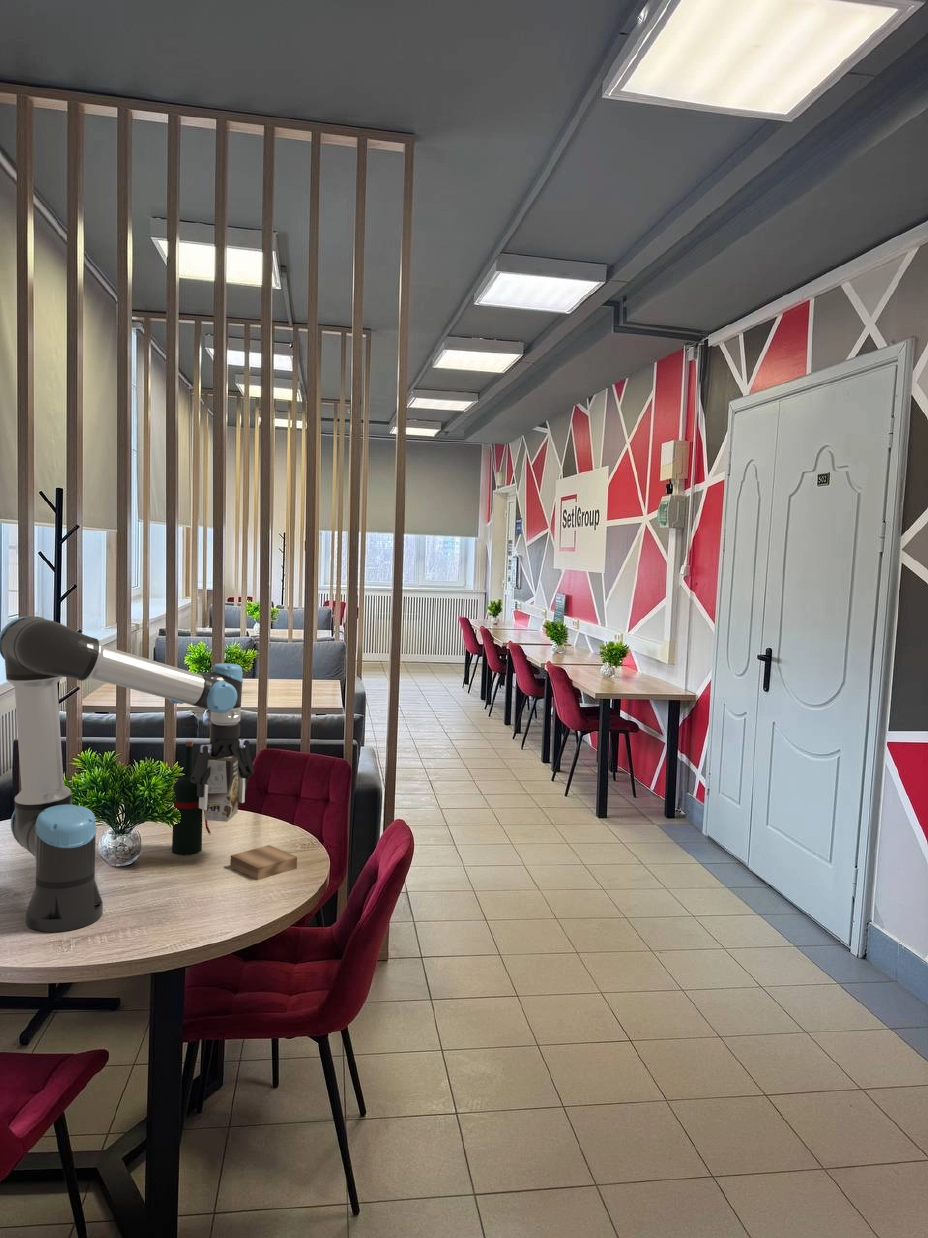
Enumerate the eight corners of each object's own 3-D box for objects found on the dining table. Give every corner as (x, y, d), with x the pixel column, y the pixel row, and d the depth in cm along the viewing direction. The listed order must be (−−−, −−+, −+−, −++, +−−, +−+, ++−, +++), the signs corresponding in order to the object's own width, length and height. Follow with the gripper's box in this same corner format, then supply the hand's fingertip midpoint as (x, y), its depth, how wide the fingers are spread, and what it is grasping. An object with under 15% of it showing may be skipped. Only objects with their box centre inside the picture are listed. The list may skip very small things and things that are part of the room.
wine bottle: (207, 856, 223) (209, 745, 221) (167, 855, 223) (170, 744, 221) (213, 846, 231) (216, 738, 229) (175, 845, 230) (178, 737, 228)
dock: (257, 880, 209) (258, 868, 209) (230, 866, 217) (230, 855, 216) (296, 868, 218) (297, 856, 218) (268, 856, 226) (269, 845, 225)
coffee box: (228, 822, 217) (231, 760, 216) (203, 820, 217) (206, 759, 216) (238, 812, 226) (241, 753, 225) (214, 810, 226) (217, 751, 225)
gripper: (193, 729, 209) (190, 816, 210) (270, 720, 227) (266, 801, 228) (177, 724, 214) (174, 809, 215) (254, 716, 231) (250, 795, 233)
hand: (221, 805), depth 221 cm, fingers closed on coffee box, 11 cm apart
